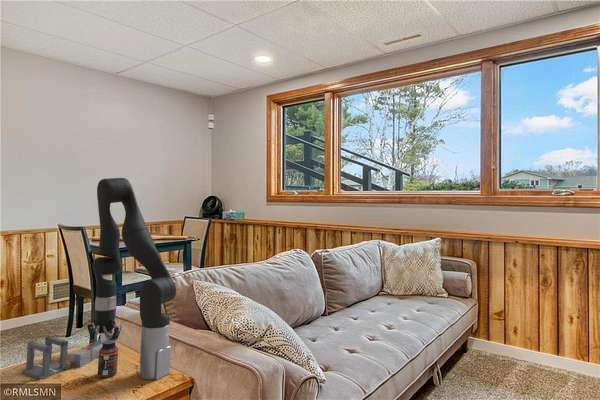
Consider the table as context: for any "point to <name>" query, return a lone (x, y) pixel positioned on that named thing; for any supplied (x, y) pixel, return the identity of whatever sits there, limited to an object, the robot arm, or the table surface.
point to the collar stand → (46, 358)
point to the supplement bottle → (108, 359)
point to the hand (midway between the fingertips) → (103, 350)
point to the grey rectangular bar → (86, 353)
